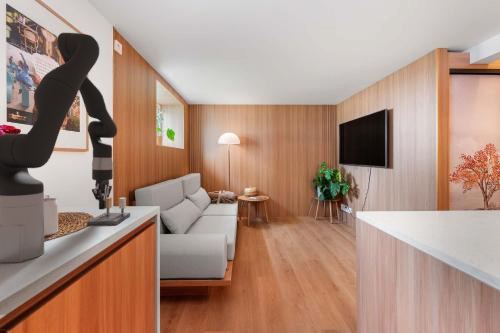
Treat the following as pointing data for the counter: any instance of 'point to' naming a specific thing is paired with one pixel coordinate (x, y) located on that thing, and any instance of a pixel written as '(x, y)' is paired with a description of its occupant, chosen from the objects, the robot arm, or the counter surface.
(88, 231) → the counter surface
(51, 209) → the can
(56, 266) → the counter surface
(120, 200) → the knob
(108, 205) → the knob
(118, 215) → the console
